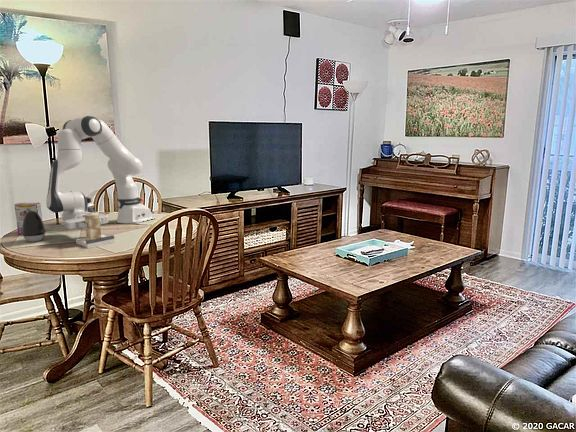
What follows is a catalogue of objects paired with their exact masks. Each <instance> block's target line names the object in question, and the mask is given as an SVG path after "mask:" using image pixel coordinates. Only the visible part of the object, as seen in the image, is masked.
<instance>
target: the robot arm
mask: <svg viewBox="0 0 576 432" xmlns="http://www.w3.org/2000/svg"><path fill="white" fill-rule="evenodd" d="M57 135H58V136H57V157H56V158H55V160H53V161H52V162H51V165H50V170H49V171H50V172H49V180H48V181H49V182H48V189H47V194H46V201H45V202H46V208H47V209H48V210H49V211H50V212H52V213H61V219H62V221H63V222H61V223H60V224H61V226H64V228H65V229H66V230H75V229H78V230H86V227H88V226H87V225H88V224H87V223H85V216H84V215H87V214H94V213H95V214H99V218H100V226H101V225H103V224H108V223H109V216H108V215H107V214H105V213H100V212H99V211H95V212H86V210H87V206H88V202H87V198H86V197H87V196H86V195H85V194H84V193H83V192H81V191H67V192H60V182H61V177H62V174H63V173H64V172H66V171H70V170H71V169H73V168H76V167H78V166H79V165H80V164H81V162H83V161H82V160H83V150H82V144H81V143H82V140H85V139H88V138H92V140H93V141H94V143H95V144H96V145H97V147H98V148H99V150H100V151H101V152H102V153H103V155H104V156H106V157H107V158H109V159H108V161H107V167H108V169H109V171H110V172H111V174H112V177H113V179H114V182H115V186H116V194H117V197H116V198H117V199H116V202H117V203H116V204H117V209H118V211H117V218H116V222H117V223H118V224H140V223H144V222H148V221H147V220H149V221H152V220H151V219H153V220H155V219H154V218H156V216H155V215H152V212H151V209H150V208H149V207H148V206H146V205H144V204H143V203H142V202H144V200H145V198H143V197H138V187H137V184H136V182H135V181H134V179H133V176H135V175H139V174H140V173H141V172H142V170H143V162H142V160H140V159H139V158H138V157H136V156H134V154H133V153H131V152H130V151H129V150H128V148H126V147H125V146H124V145H123V144H122V143H121V141H120V140H119V138H118V137H117V135H115V133H114V132H113V130H112V129H111V128H110V127H109V126H108V124H106V122H105V121H103V120H102V119H98V118H97V117H96V116H92V115H91V116H90V115H86V116H80V117H76V118H73V119H69V120H67V121H66V122H64V123H63V126H62V129H61V130H60V131H59V132H58V134H57ZM143 221H144V222H143Z"/></svg>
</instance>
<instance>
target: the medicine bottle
mask: <svg viewBox="0 0 576 432" xmlns="http://www.w3.org/2000/svg"><path fill="white" fill-rule="evenodd" d="M85 197H86V198H87V202H88V206H87V210H86V212H96V204H93V203H92V197H87V196H85Z"/></svg>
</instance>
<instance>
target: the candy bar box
mask: <svg viewBox="0 0 576 432" xmlns="http://www.w3.org/2000/svg"><path fill="white" fill-rule="evenodd" d="M41 207H42V206H41V202H18V203H17V202H16V203H15V204H14V211H15V220H16V227H17V234H18V235H22V225H23V220H24V217H25V214H24V212H29V211H35V212H37V213H38V214H39V216H40V217H41V219H42V220H43V217H42V216H43V215H42V208H41Z"/></svg>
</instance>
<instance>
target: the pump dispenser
mask: <svg viewBox="0 0 576 432" xmlns="http://www.w3.org/2000/svg"><path fill="white" fill-rule="evenodd" d="M24 214H25V217H24V220H23V225H22V234H21V235H22V236H23V238H24V240H25V241H27V242H29V243H30V242H31V243H36V242H39V241H42V240H43V239H44V237H45V235H46V227H45V225H44V222H43V218H42V219H41V217H40V216H39V214H38V213H37V212H35V211H29V212H24Z"/></svg>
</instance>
